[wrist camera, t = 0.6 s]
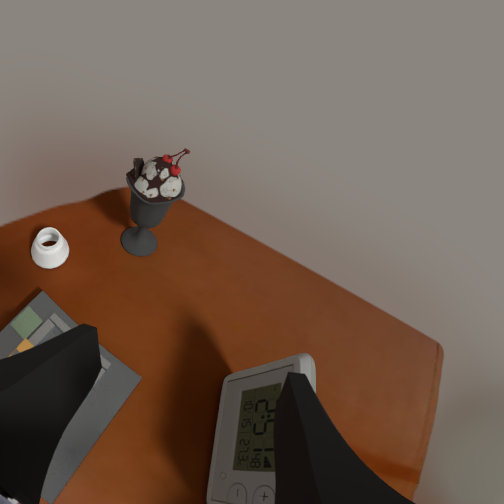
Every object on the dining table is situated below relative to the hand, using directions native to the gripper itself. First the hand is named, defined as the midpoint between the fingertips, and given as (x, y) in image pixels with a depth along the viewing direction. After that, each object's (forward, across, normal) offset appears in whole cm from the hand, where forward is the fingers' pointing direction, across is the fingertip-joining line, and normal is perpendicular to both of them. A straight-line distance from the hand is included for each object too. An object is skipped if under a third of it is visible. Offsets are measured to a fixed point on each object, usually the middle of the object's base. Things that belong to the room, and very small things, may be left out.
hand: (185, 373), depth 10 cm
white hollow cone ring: (+19, +22, +6) cm, 30 cm away
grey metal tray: (+6, +16, +15) cm, 22 cm away
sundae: (+27, +13, +6) cm, 31 cm away
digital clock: (+11, -4, +20) cm, 23 cm away
